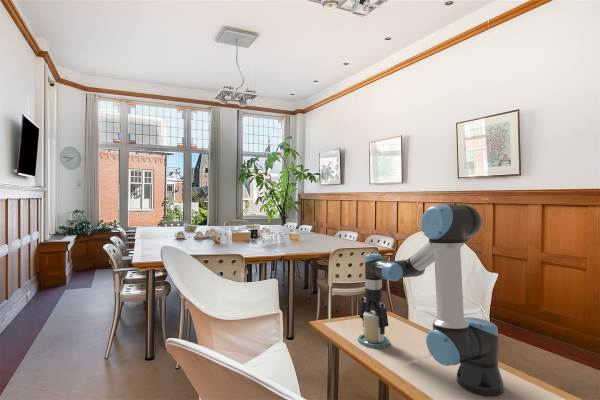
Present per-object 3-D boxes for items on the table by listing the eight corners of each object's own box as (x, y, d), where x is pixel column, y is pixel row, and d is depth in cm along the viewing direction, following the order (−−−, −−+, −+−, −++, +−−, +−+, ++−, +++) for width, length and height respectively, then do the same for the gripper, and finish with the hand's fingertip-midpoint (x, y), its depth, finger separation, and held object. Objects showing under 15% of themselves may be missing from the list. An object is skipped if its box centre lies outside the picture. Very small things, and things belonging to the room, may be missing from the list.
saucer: (395, 344, 163) (395, 340, 163) (373, 351, 155) (373, 347, 155) (373, 334, 174) (373, 331, 174) (351, 340, 167) (351, 337, 167)
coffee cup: (384, 344, 159) (384, 317, 159) (362, 342, 161) (362, 315, 161) (383, 336, 168) (383, 310, 168) (363, 335, 170) (363, 309, 170)
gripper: (397, 291, 158) (397, 343, 158) (363, 282, 176) (363, 329, 176) (385, 294, 154) (385, 347, 154) (351, 284, 172) (351, 332, 171)
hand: (373, 337), depth 165 cm, fingers closed on coffee cup, 9 cm apart
